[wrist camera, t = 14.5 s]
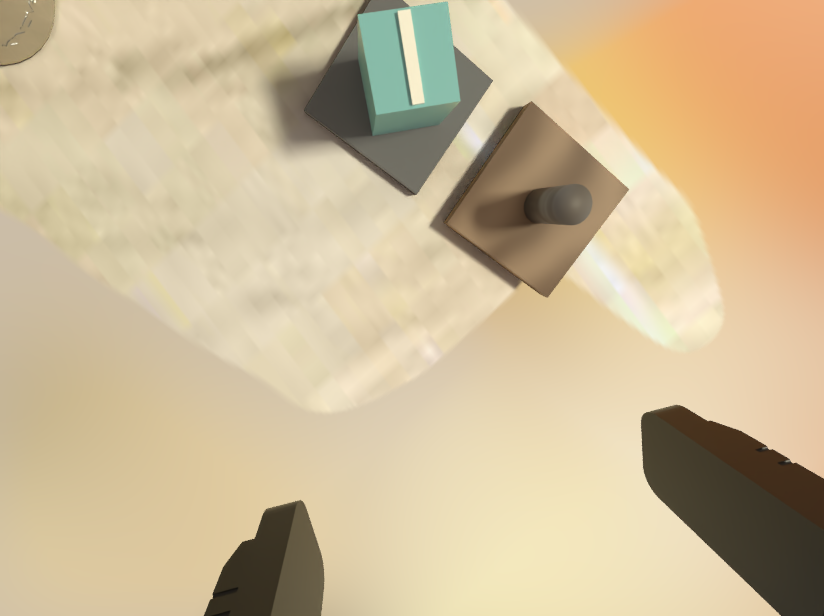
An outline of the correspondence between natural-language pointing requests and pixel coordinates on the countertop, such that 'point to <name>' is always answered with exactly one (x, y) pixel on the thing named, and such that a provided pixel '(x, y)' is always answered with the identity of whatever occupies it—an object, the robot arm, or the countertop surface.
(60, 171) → the countertop surface
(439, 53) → the striped teal box
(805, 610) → the robot arm
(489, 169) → the post base
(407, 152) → the mat
